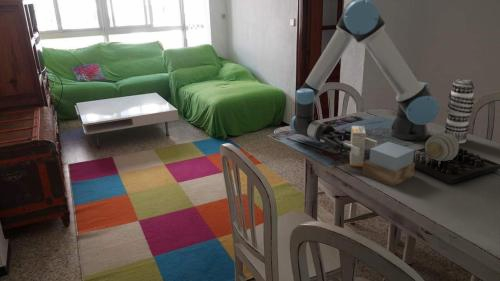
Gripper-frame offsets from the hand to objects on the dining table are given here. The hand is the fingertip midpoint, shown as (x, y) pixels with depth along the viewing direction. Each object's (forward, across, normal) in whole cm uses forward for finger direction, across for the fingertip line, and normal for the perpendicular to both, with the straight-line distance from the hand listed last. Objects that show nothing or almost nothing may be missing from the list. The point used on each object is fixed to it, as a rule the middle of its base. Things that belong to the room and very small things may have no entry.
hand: (367, 148), depth 136 cm
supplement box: (-5, 0, -7) cm, 9 cm away
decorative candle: (+7, -48, -7) cm, 49 cm away
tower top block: (+10, 0, -2) cm, 10 cm away
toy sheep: (+15, -23, -7) cm, 28 cm away
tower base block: (+9, 0, -7) cm, 12 cm away
